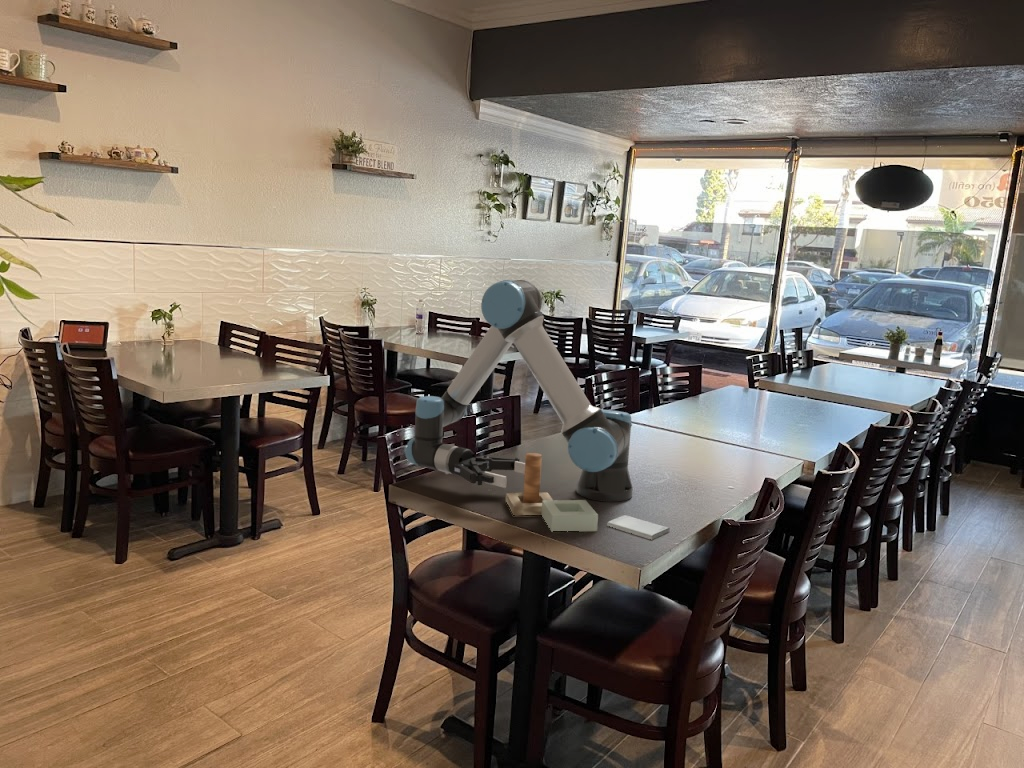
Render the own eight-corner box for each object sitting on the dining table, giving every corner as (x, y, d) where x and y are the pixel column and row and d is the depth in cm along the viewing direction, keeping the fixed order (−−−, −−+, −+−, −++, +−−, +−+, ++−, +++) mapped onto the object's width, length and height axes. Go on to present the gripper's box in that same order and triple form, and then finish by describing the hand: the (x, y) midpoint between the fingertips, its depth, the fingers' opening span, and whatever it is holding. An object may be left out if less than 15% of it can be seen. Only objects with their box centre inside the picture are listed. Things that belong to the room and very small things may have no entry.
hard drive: (670, 527, 186) (625, 514, 194) (652, 535, 180) (607, 521, 188) (669, 534, 187) (625, 520, 195) (651, 542, 181) (606, 527, 188)
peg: (536, 506, 200) (539, 452, 198) (540, 511, 196) (543, 457, 194) (521, 506, 199) (524, 452, 197) (524, 511, 196) (527, 457, 193)
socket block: (584, 515, 195) (585, 500, 194) (596, 531, 184) (598, 514, 184) (541, 516, 193) (542, 500, 192) (551, 531, 182) (552, 515, 182)
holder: (547, 501, 204) (547, 492, 204) (556, 515, 194) (557, 506, 193) (505, 502, 202) (505, 492, 202) (513, 516, 192) (513, 506, 191)
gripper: (482, 465, 221) (546, 480, 209) (424, 484, 200) (491, 502, 189) (484, 439, 219) (548, 453, 208) (425, 455, 199) (492, 472, 187)
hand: (521, 476), depth 198 cm, fingers open, 13 cm apart
